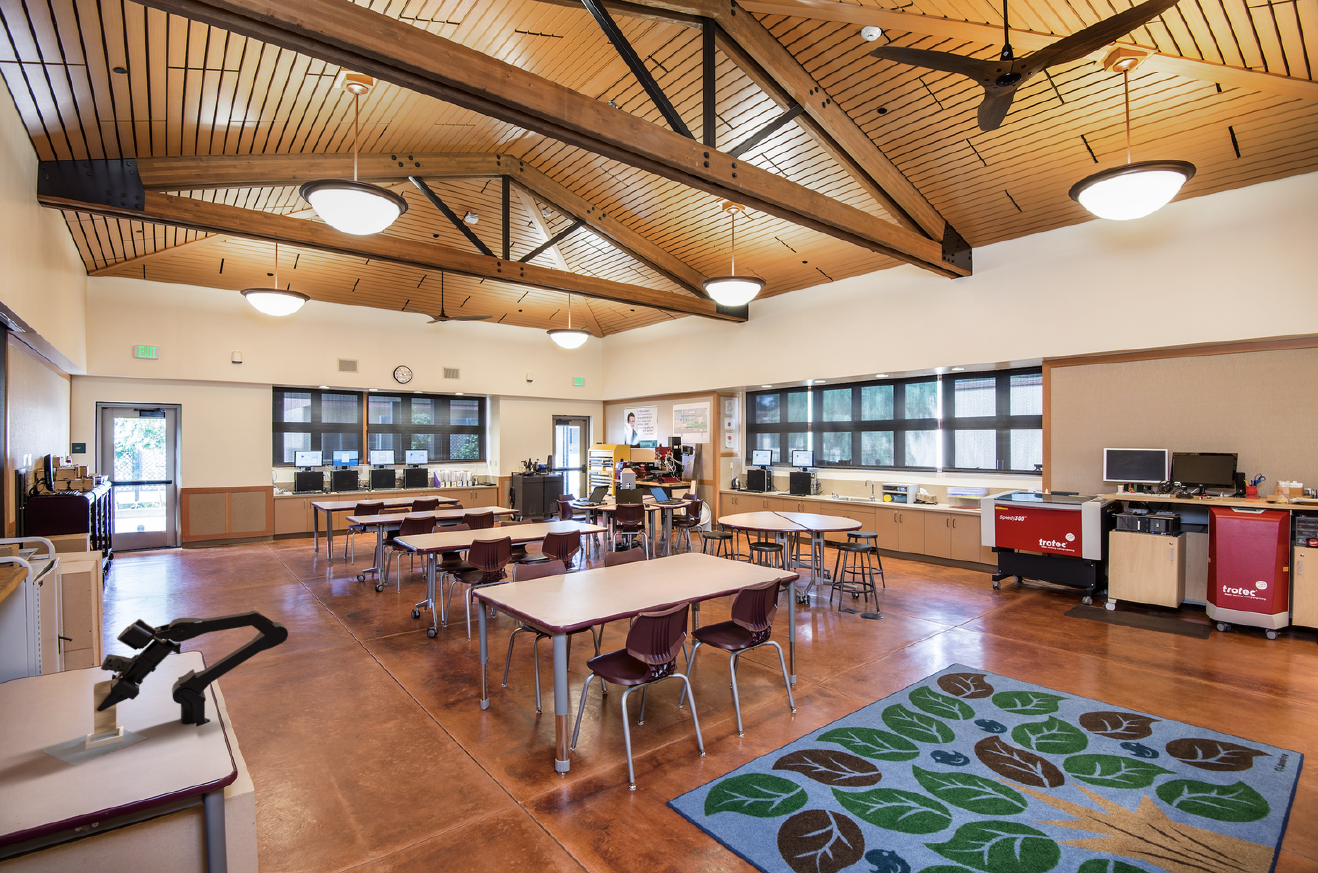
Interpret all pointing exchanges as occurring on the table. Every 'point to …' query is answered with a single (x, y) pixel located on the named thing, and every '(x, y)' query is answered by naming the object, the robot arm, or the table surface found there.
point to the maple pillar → (107, 717)
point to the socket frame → (104, 741)
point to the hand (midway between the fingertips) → (98, 707)
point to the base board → (77, 754)
